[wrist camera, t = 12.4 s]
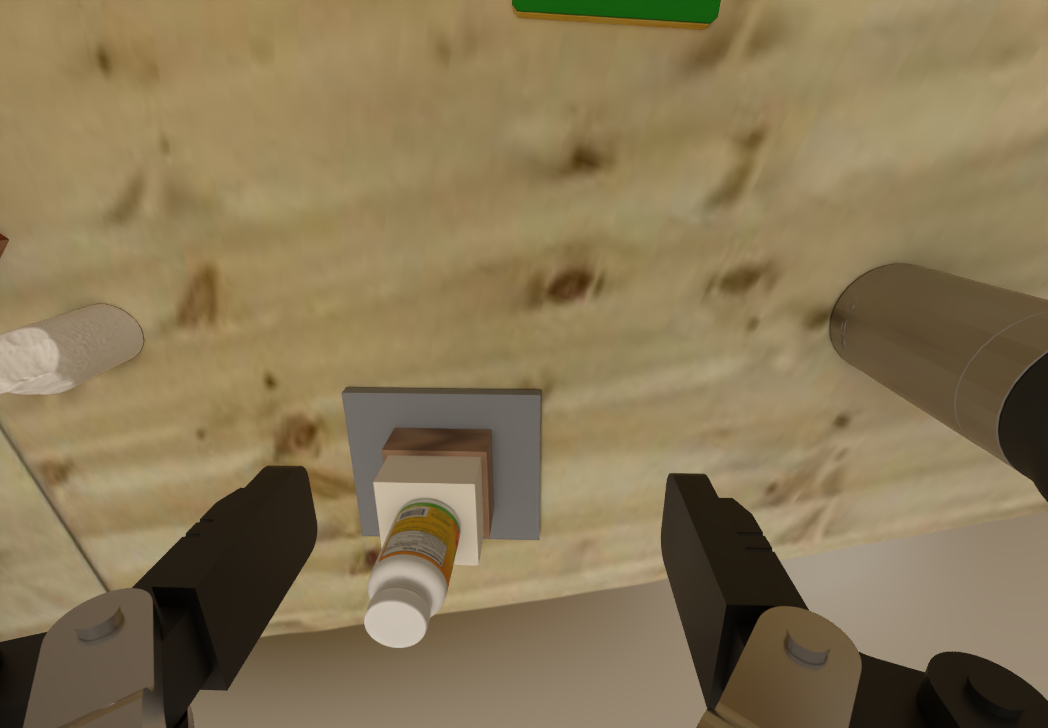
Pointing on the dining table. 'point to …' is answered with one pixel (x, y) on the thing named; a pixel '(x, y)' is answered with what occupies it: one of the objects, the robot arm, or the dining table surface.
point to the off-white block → (434, 495)
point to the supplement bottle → (412, 573)
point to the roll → (67, 350)
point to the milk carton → (3, 243)
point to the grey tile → (493, 409)
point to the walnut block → (449, 453)
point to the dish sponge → (623, 11)
